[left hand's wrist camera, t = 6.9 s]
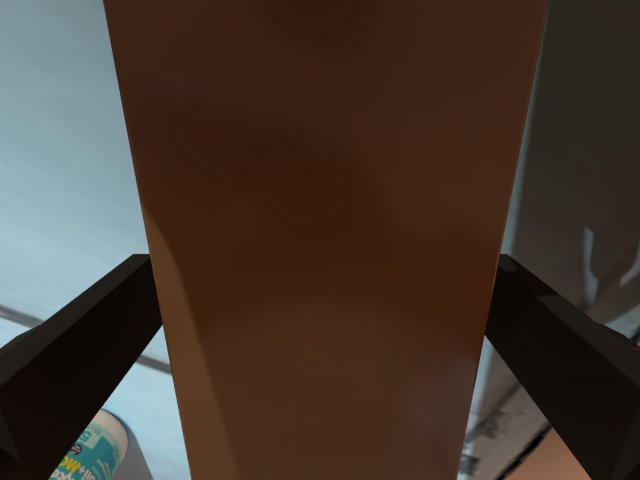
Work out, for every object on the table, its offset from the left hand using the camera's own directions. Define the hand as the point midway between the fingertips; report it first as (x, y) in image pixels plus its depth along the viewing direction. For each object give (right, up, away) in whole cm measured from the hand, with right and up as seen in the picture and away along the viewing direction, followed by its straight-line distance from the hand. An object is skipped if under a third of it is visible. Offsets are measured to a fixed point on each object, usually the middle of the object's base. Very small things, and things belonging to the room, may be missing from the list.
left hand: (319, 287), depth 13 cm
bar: (0, +8, -1) cm, 8 cm away
